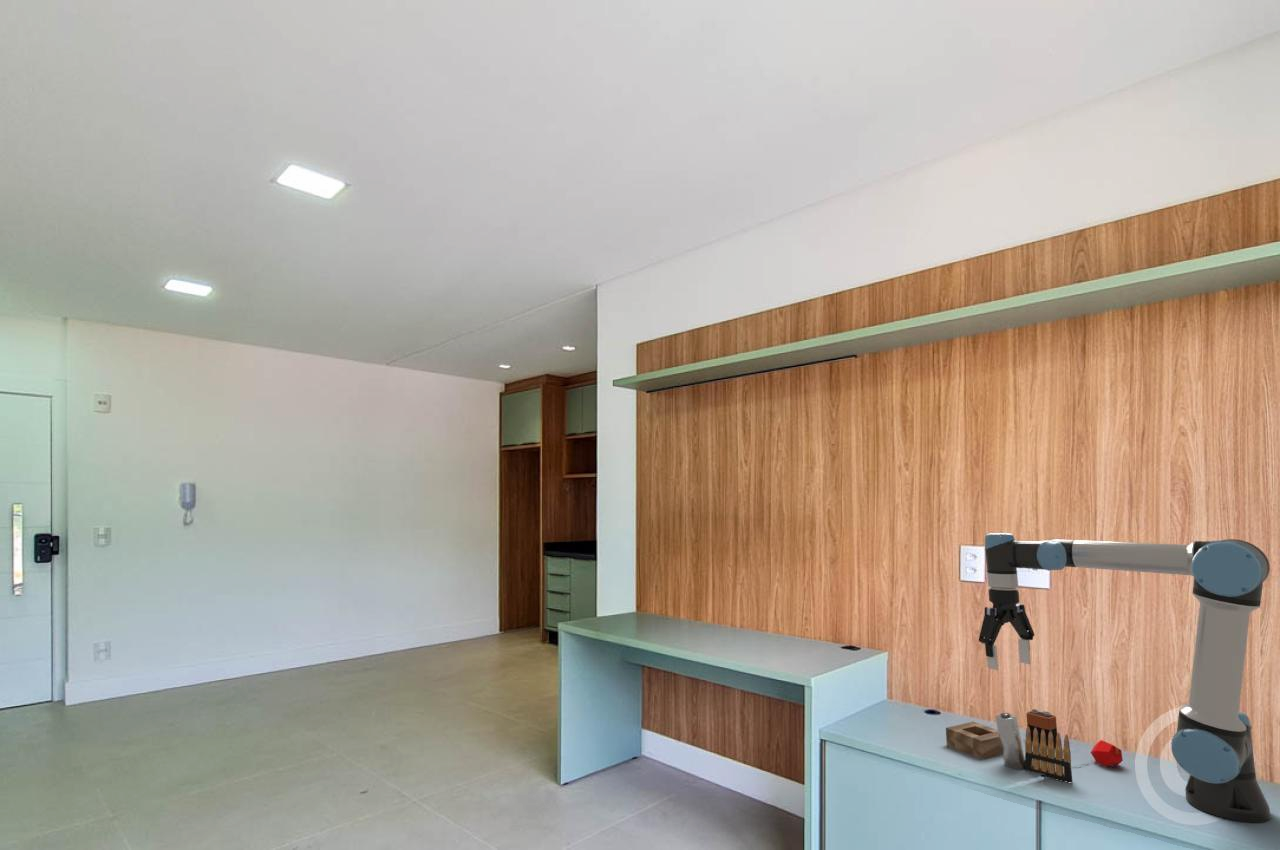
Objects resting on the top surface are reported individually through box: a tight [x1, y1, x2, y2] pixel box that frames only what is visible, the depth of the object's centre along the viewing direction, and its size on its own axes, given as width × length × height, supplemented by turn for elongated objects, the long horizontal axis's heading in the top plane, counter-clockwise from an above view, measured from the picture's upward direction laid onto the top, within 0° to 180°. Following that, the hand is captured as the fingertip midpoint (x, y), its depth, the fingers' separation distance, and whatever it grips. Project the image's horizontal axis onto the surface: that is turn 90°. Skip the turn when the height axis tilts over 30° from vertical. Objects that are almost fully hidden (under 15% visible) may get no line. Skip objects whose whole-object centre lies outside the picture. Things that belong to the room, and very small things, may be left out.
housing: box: [945, 721, 1003, 760], centre depth 193 cm, size 12×12×6 cm
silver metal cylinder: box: [995, 712, 1025, 771], centre depth 181 cm, size 5×5×14 cm
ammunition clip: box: [1024, 725, 1073, 783], centre depth 175 cm, size 11×2×12 cm, turn 52°
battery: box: [1025, 708, 1058, 748], centre depth 198 cm, size 4×7×10 cm, turn 33°
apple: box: [1090, 739, 1124, 767], centre depth 183 cm, size 7×7×8 cm
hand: (1009, 666), depth 183 cm, fingers open, 13 cm apart
